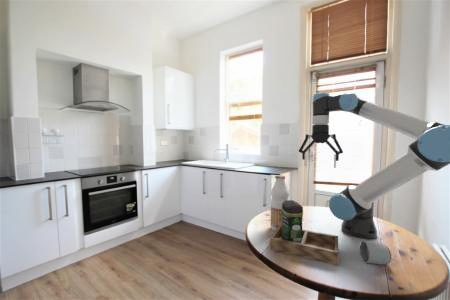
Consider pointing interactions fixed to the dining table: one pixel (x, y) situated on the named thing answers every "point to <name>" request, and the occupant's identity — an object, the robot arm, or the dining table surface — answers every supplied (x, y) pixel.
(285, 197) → the fruit juice
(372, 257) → the ceramic mug
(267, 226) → the dining table surface
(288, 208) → the coffee jar
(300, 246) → the wooden divided tray
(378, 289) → the dining table surface
